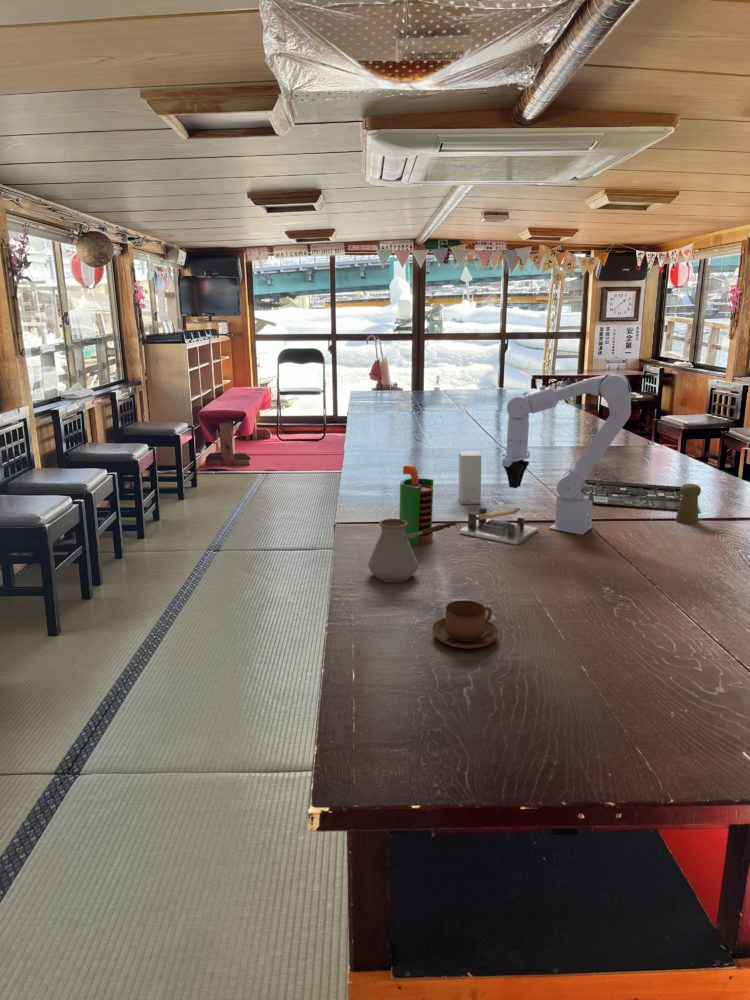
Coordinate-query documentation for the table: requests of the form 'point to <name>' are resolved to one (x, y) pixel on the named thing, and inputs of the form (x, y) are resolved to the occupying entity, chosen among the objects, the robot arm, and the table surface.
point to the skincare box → (470, 477)
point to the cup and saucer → (465, 625)
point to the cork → (688, 504)
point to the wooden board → (497, 513)
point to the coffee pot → (397, 551)
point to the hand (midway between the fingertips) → (514, 486)
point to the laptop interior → (632, 495)
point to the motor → (416, 505)
